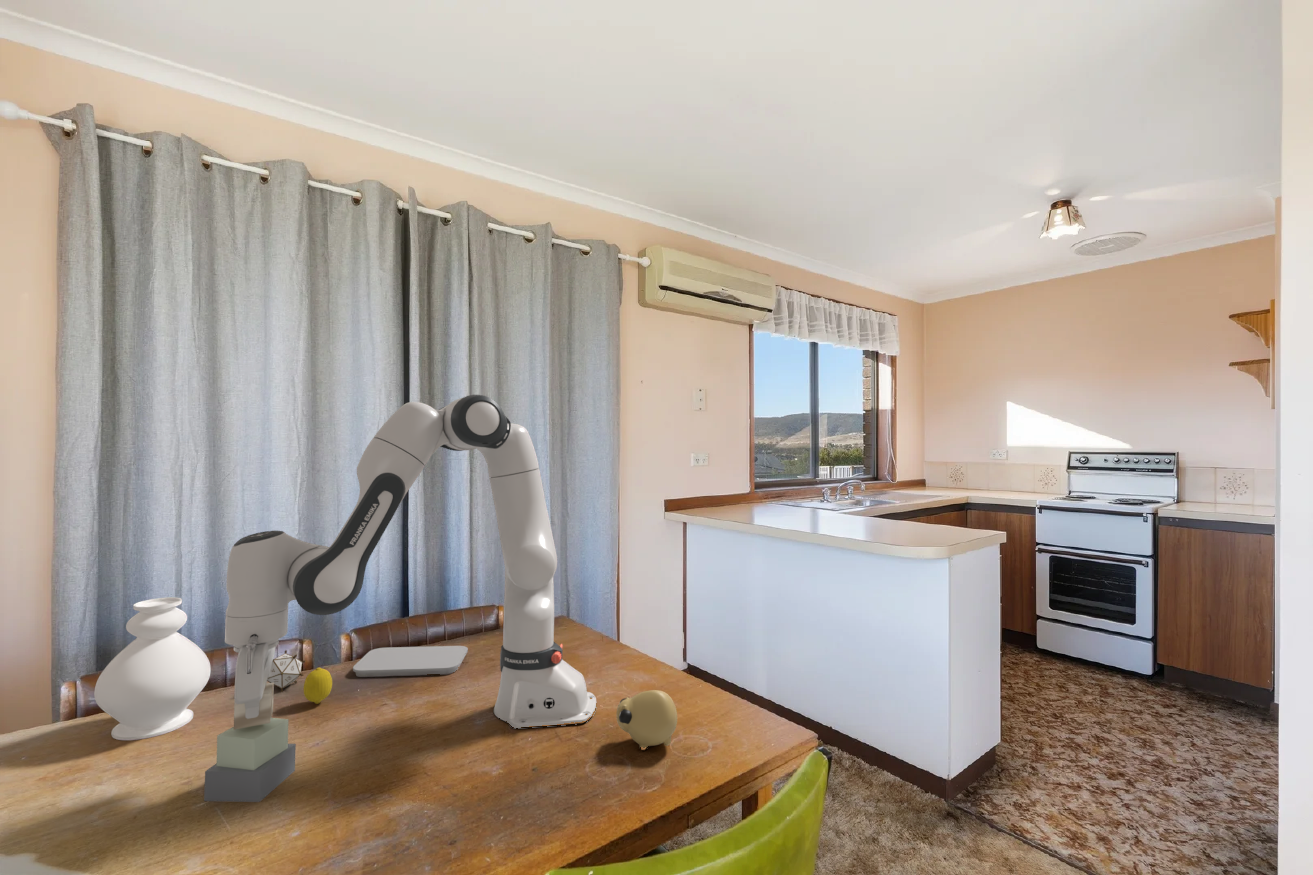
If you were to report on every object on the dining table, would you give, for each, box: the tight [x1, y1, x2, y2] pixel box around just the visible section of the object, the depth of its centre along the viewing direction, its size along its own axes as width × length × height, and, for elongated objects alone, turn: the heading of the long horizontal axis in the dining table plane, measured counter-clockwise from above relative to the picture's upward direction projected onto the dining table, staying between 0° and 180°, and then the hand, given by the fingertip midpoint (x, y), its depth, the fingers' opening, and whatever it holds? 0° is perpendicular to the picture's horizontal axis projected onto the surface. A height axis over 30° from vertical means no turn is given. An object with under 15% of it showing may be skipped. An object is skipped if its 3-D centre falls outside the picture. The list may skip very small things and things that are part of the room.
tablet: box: [352, 645, 469, 678], centre depth 151 cm, size 16×26×2 cm, turn 97°
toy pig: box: [616, 689, 678, 748], centre depth 113 cm, size 10×12×11 cm
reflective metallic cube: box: [233, 682, 275, 729], centre depth 97 cm, size 5×5×5 cm
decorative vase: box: [93, 596, 212, 741], centre depth 117 cm, size 18×18×25 cm
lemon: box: [303, 667, 333, 705], centre depth 127 cm, size 6×6×8 cm
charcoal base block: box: [203, 743, 297, 803], centre depth 97 cm, size 9×9×5 cm
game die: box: [267, 649, 307, 693], centre depth 135 cm, size 9×8×10 cm
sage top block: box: [215, 717, 289, 770], centre depth 97 cm, size 7×7×5 cm
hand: (254, 708), depth 97 cm, fingers closed on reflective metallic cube, 5 cm apart
